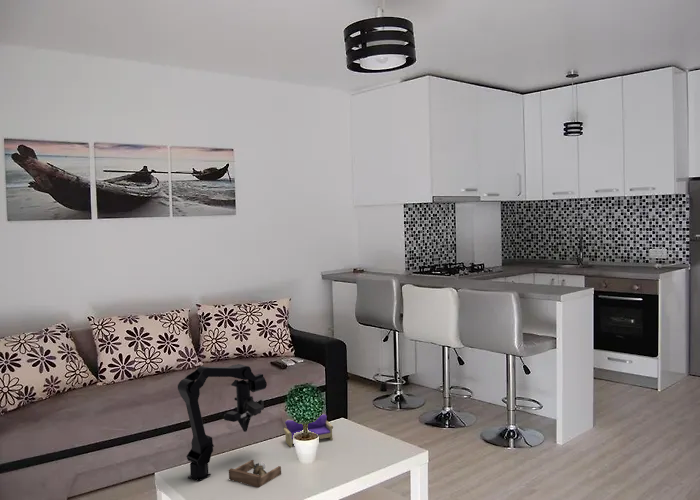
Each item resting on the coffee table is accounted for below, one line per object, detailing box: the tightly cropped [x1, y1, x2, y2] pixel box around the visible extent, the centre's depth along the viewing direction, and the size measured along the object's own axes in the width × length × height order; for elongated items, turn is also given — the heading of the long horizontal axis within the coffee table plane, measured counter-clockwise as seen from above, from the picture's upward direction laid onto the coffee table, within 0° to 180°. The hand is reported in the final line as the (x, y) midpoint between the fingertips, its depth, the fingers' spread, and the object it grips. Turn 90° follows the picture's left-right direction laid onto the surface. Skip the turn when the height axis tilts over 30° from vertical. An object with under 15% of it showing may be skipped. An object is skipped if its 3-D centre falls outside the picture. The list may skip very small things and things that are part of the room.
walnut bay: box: [228, 459, 282, 488], centre depth 240 cm, size 14×15×4 cm
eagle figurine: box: [248, 461, 268, 476], centre depth 239 cm, size 8×7×9 cm
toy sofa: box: [283, 413, 334, 448], centre depth 277 cm, size 21×9×10 cm, turn 110°
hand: (245, 431), depth 258 cm, fingers closed
